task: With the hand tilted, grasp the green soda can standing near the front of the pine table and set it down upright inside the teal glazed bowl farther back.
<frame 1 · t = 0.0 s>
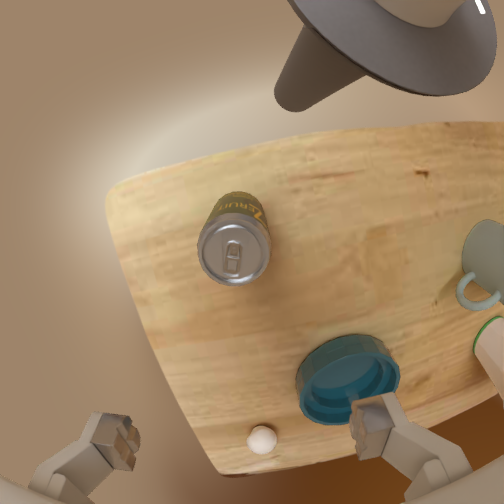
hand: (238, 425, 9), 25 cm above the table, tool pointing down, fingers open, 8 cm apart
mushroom: (261, 427, 44), on the table
teal bowl: (343, 372, 40), on the table
mug: (472, 258, 35), on the table
cup: (489, 335, 40), on the table
green soda can: (238, 214, 32), on the table
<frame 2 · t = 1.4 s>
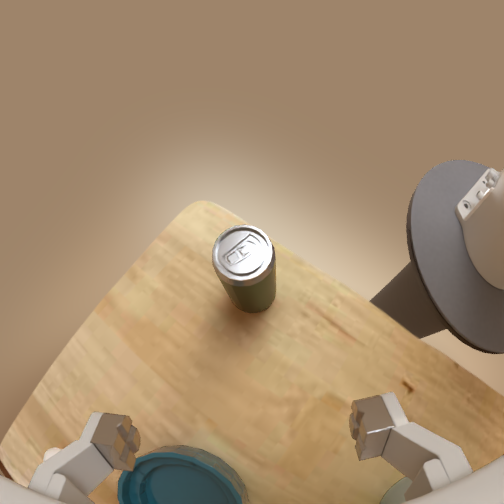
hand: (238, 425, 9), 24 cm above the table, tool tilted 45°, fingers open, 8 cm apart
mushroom: (72, 461, 28), on the table
teal bowl: (188, 495, 26), on the table
mug: (395, 502, 23), on the table
green soda can: (253, 292, 36), on the table
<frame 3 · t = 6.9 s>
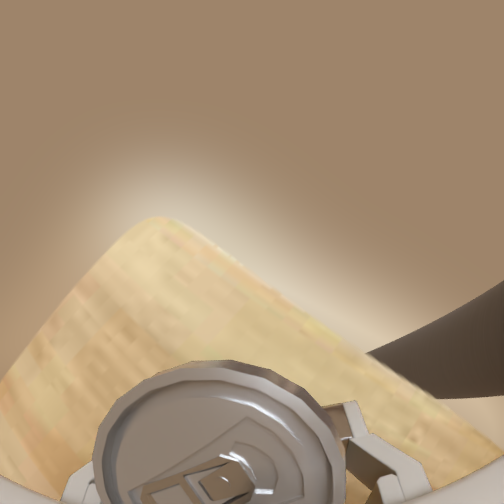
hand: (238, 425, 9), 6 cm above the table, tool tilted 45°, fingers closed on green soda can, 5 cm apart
green soda can: (253, 421, 15), on the table, touching gripper
when the fingers open (7 cm above the table, at t = 16.6 s): green soda can stays where it is, resting on teal bowl.
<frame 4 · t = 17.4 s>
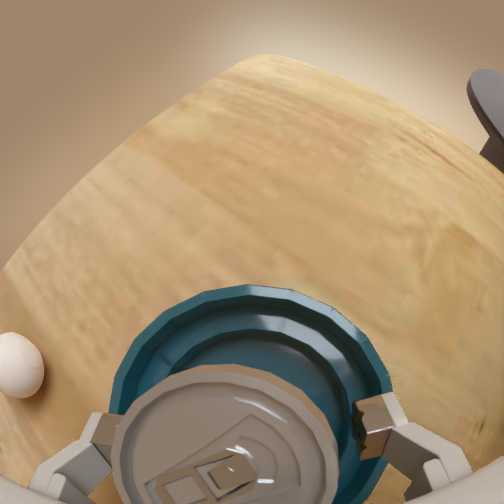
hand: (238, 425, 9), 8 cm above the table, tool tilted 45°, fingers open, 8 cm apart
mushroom: (38, 370, 18), on the table
teal bowl: (253, 419, 16), on the table
green soda can: (254, 420, 16), resting on teal bowl
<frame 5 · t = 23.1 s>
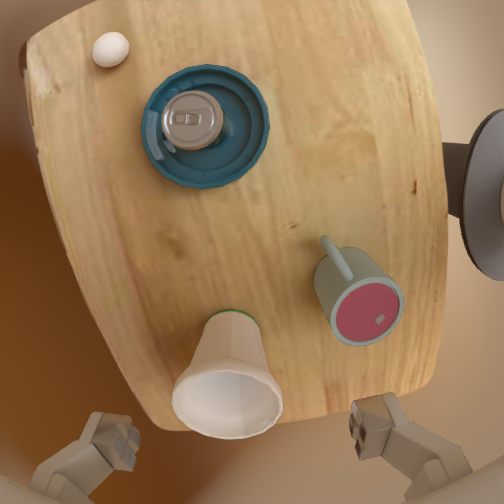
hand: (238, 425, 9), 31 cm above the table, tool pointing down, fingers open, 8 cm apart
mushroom: (118, 54, 31), on the table
teal bowl: (208, 127, 35), on the table
mug: (337, 265, 41), on the table
cup: (231, 332, 45), on the table
green soda can: (208, 127, 34), resting on teal bowl
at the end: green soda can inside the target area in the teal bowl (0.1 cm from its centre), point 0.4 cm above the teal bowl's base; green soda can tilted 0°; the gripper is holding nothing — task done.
